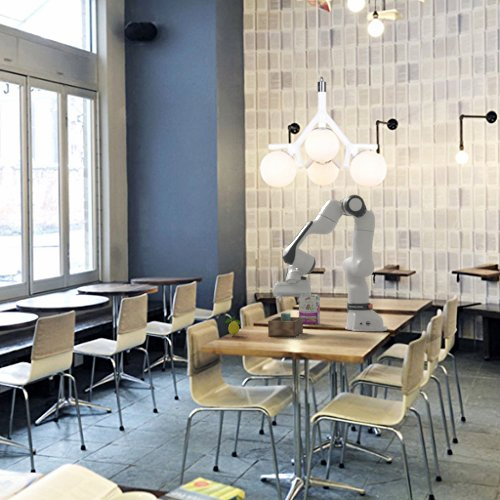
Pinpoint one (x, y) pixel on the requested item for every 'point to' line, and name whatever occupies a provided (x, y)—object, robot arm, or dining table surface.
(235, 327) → the lemon
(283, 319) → the peg
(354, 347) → the dining table surface
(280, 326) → the walnut box
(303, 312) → the candy bar box
